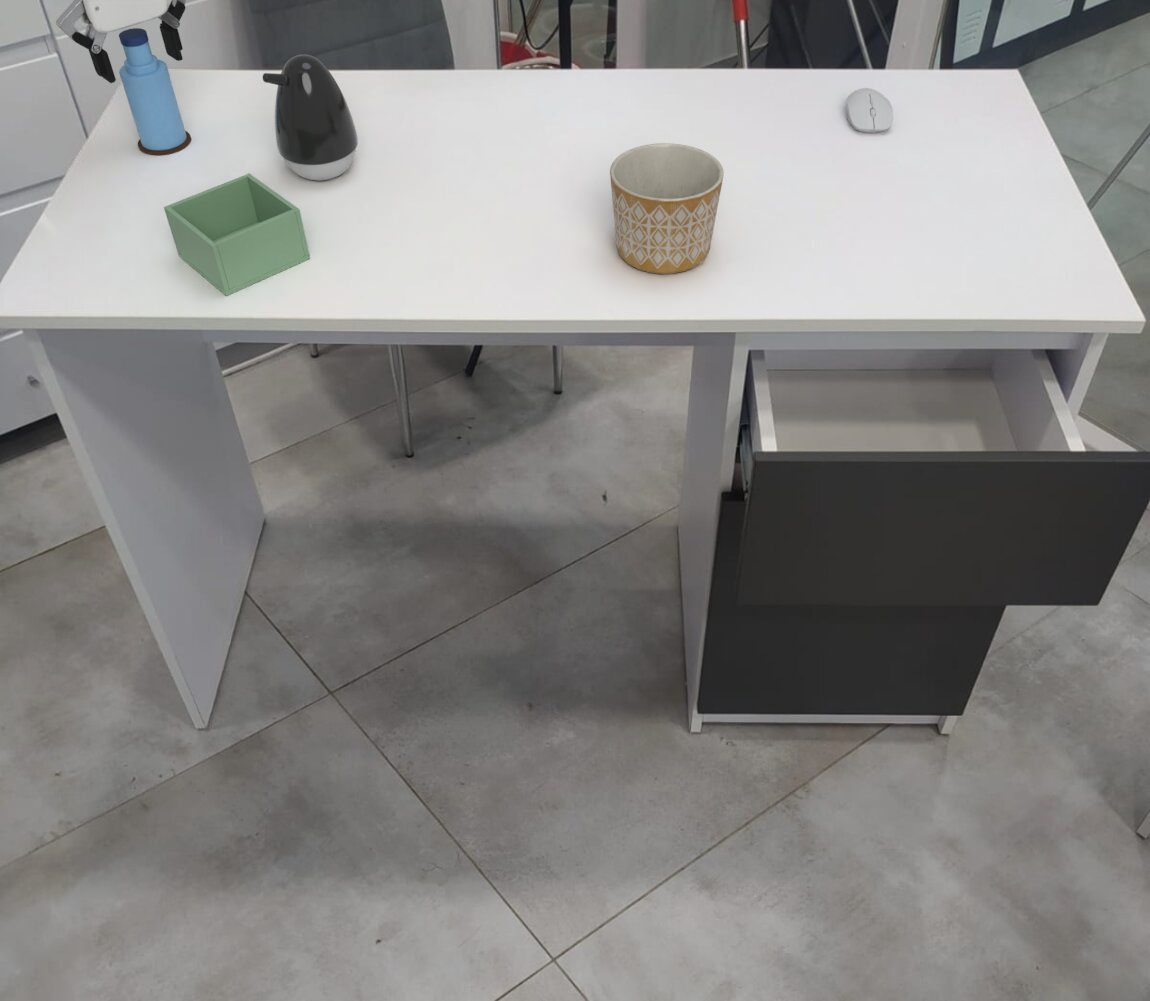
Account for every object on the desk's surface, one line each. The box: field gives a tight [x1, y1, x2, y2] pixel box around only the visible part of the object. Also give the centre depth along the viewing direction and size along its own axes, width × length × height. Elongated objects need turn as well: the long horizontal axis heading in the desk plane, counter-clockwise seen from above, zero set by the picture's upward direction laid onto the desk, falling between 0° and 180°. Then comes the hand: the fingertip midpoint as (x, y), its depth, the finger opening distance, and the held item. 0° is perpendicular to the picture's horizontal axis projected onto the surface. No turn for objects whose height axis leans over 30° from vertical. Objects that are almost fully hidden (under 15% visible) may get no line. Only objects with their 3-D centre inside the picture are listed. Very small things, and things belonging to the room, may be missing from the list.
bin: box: [163, 173, 311, 297], centre depth 129 cm, size 11×11×7 cm
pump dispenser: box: [262, 53, 359, 181], centre depth 140 cm, size 10×10×15 cm
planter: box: [609, 142, 725, 275], centre depth 128 cm, size 13×13×10 cm
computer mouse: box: [845, 87, 894, 134], centre depth 153 cm, size 6×10×3 cm, turn 179°
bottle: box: [118, 27, 187, 150], centre depth 147 cm, size 6×6×14 cm
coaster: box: [137, 130, 192, 156], centre depth 152 cm, size 7×7×1 cm
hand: (142, 68), depth 145 cm, fingers open, 9 cm apart
